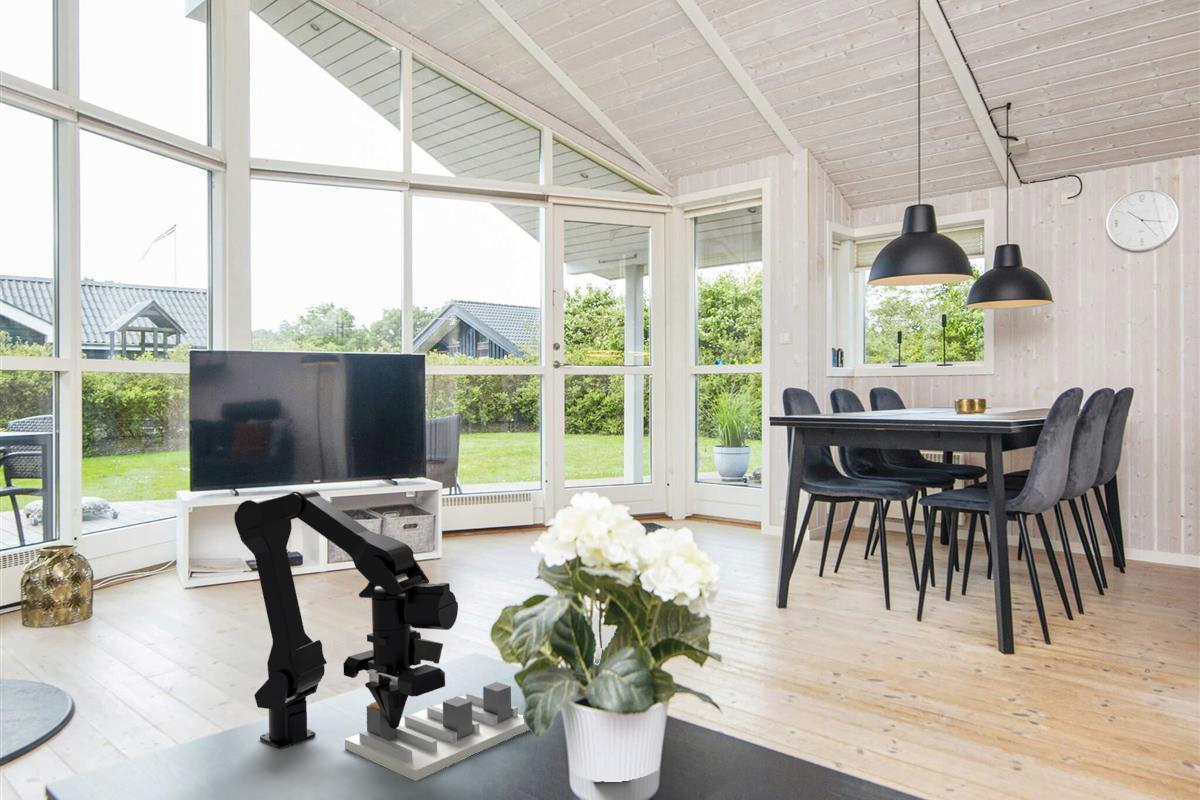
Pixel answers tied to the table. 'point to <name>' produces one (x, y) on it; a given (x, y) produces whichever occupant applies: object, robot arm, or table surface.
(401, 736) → the breaker board
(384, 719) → the block
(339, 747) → the table surface
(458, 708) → the block
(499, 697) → the block
